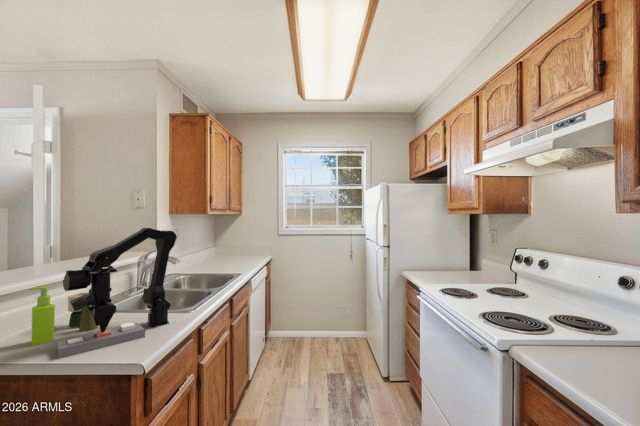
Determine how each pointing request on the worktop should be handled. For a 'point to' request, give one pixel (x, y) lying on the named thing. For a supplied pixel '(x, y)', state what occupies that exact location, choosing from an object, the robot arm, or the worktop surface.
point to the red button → (102, 333)
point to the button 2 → (127, 327)
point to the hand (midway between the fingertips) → (100, 328)
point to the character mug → (75, 315)
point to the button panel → (97, 341)
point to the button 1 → (75, 340)
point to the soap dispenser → (43, 319)
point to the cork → (87, 320)
